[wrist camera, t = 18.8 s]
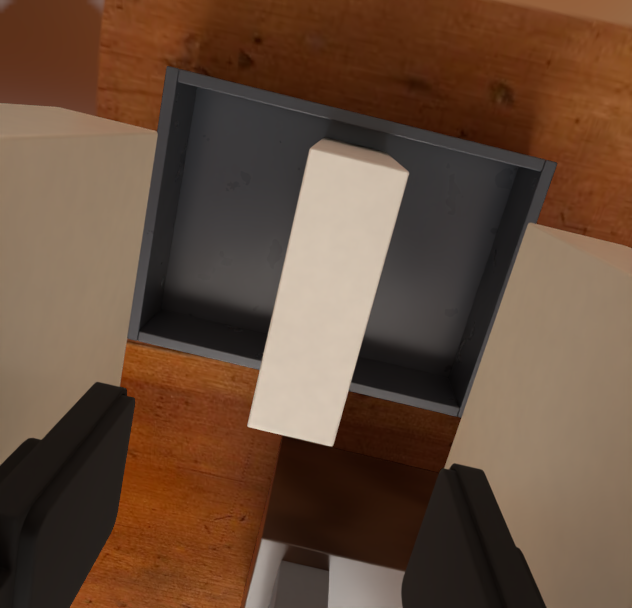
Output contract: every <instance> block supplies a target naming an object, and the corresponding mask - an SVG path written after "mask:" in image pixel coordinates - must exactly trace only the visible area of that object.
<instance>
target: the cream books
mask: <svg viewBox="0 0 632 608" xmlns="http://www.w3.org/2000/svg"><path fill="white" fill-rule="evenodd" d="M157 137H158V133H157V132H156V131H154V130H150V129H146V128H142V127H138V126H133V125H129V124H125V123H121V122H117V121H113V120H109V119H105V118H101V117H97V116H93V115H88V114H84V113H80V112H76V111H72V110H68V109H64V108H60V107H50V106H35V105H20V104H5V103H0V465H1V464H2V463H3V462H4V461H5V460H6V459H7V458H8V457H9V456H10V455H11V454H12V453H13V452H14V451H15V450H16V449H17V448H18V447H19V446H20V445H21V444H22V443H23V442H24V441H25V440H27V439H28V438H36V439H40V440H42V439H43V438H44V437H45V435H46V434H47V433H48V432H49V431H50V430H51V429H52V428H53V427H54V426H55V425H56V424H57V423H58V422H59V421H60V419H61V418H62V417H63V416H64V415H65V414H66V413H67V412H68V411H69V410H70V409H71V408H72V407H73V406H74V405H75V404H76V402H77V401H78V400H79V399H80V398H81V397H82V396H83V395H84V394H85V393H86V392H87V391H88V390H89V389H90V388H91V386H92V385H93V384H94V383H96V382H101V383H105V384H110V385H114V386H119V387H120V381H121V375H122V368H123V362H124V355H125V348H126V342H127V335H128V329H129V322H130V315H131V309H132V302H133V295H134V289H135V282H136V276H137V269H138V262H139V256H140V249H141V242H142V236H143V229H144V223H145V216H146V209H147V203H148V196H149V190H150V183H151V176H152V170H153V163H154V156H155V150H156V143H157ZM454 463H456V464H460V465H465V466H469V467H473V468H478V469H482V470H483V471H484V473H485V475H486V477H487V480H488V482H489V484H490V487H491V489H492V491H493V494H494V496H495V498H496V501H497V503H498V505H499V508H500V510H501V513H502V515H503V517H504V520H505V522H506V524H507V527H508V529H509V531H510V534H511V536H512V538H513V541H514V543H515V545H516V547H518V548H520V550H521V551H522V553H523V554H524V557H525V559H526V561H527V564H528V566H529V568H530V571H531V573H532V575H533V577H534V580H535V582H536V584H537V587H538V589H539V591H540V593H541V596H542V598H543V600H544V603H545V605H546V607H547V608H632V248H629V247H627V246H624V245H620V244H616V243H612V242H608V241H604V240H600V239H596V238H591V237H587V236H583V235H579V234H575V233H571V232H567V231H563V230H559V229H555V228H551V227H547V226H542V225H538V224H534V223H529V224H528V225H527V228H526V231H525V234H524V237H523V240H522V243H521V246H520V249H519V252H518V255H517V258H516V260H515V263H514V266H513V269H512V272H511V275H510V278H509V281H508V284H507V287H506V290H505V292H504V295H503V298H502V301H501V304H500V307H499V310H498V313H497V316H496V319H495V322H494V324H493V327H492V330H491V333H490V336H489V339H488V342H487V345H486V348H485V351H484V354H483V357H482V359H481V362H480V365H479V368H478V371H477V374H476V377H475V380H474V383H473V386H472V389H471V391H470V394H469V397H468V400H467V403H466V406H465V409H464V412H463V415H462V418H461V421H460V424H459V426H458V429H457V432H456V435H455V438H454V441H453V444H452V447H451V450H450V453H449V456H448V458H447V461H446V464H445V467H444V468H445V469H449V468H450V467H451V465H452V464H454Z"/></svg>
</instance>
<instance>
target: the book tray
mask: <svg viewBox="0 0 632 608" xmlns="http://www.w3.org/2000/svg"><path fill="white" fill-rule="evenodd" d="M157 133H158V137H157V143H156V150H155V156H154V163H153V170H152V176H151V183H150V190H149V196H148V203H147V209H146V216H145V223H144V229H143V236H142V242H141V249H140V256H139V262H138V269H137V276H136V282H135V289H134V295H133V302H132V309H131V315H130V322H129V329H128V335H127V338H128V339H132V340H136V341H137V340H138V341H141V342H145V343H149V344H153V345H157V346H162V347H166V348H170V349H174V350H178V351H183V352H187V353H191V354H195V355H199V356H204V357H208V358H212V359H216V360H220V361H225V362H229V363H233V364H237V365H241V366H246V367H250V368H254V369H258V370H260V367H261V362H262V358H263V353H264V349H265V344H266V340H267V336H268V331H269V327H270V322H271V318H272V313H273V309H274V305H275V300H276V296H277V291H278V287H279V282H280V278H281V273H282V269H283V265H284V260H285V256H286V251H287V247H288V242H289V238H290V233H291V229H292V225H293V220H294V216H295V211H296V207H297V202H298V198H299V193H300V189H301V185H302V180H303V176H304V171H305V167H306V162H307V158H308V153H309V149H310V148H311V147H312V146H314V145H315V144H316V143H318V142H319V141H320V140H321V139H323V138H324V137H328V138H332V139H336V140H340V141H345V142H349V143H353V144H357V145H361V146H365V147H369V148H373V149H377V150H381V151H385V152H386V153H387V154H389V155H390V156H391V157H392V158H393V159H394V160H396V161H397V162H398V163H399V164H400V165H401V166H403V167H404V168H405V169H406V170H407V171H408V172H409V176H408V179H407V183H406V187H405V190H404V194H403V197H402V201H401V205H400V208H399V212H398V215H397V219H396V223H395V226H394V230H393V233H392V237H391V240H390V244H389V248H388V251H387V255H386V258H385V262H384V266H383V269H382V273H381V276H380V280H379V284H378V287H377V291H376V294H375V298H374V301H373V305H372V309H371V312H370V316H369V319H368V323H367V327H366V330H365V334H364V337H363V341H362V345H361V348H360V352H359V355H358V359H357V362H356V366H355V370H354V373H353V377H352V380H351V384H350V388H349V391H351V392H355V393H359V394H363V395H367V396H372V397H376V398H380V399H384V400H388V401H393V402H397V403H401V404H405V405H409V406H414V407H418V408H422V409H426V410H430V411H435V412H439V413H443V414H447V415H451V416H456V417H460V418H462V415H463V412H464V409H465V406H466V403H467V400H468V397H469V394H470V391H471V389H472V386H473V383H474V380H475V377H476V374H477V371H478V368H479V365H480V362H481V359H482V357H483V354H484V351H485V348H486V345H487V342H488V339H489V336H490V333H491V330H492V327H493V324H494V322H495V319H496V316H497V313H498V310H499V307H500V304H501V301H502V298H503V295H504V292H505V290H506V287H507V284H508V281H509V278H510V275H511V272H512V269H513V266H514V263H515V260H516V258H517V255H518V252H519V249H520V246H521V243H522V240H523V237H524V234H525V231H526V228H527V225H528V224H529V223H534V224H536V223H537V220H538V217H539V214H540V211H541V208H542V206H543V203H544V200H545V197H546V194H547V191H548V189H549V186H550V183H551V180H552V177H553V174H554V171H555V169H556V166H557V163H556V162H553V161H549V160H545V159H541V158H537V157H533V156H529V155H525V154H521V153H517V152H513V151H509V150H505V149H501V148H497V147H493V146H489V145H485V144H481V143H477V142H473V141H469V140H465V139H460V138H456V137H452V136H448V135H444V134H440V133H436V132H432V131H428V130H424V129H420V128H416V127H412V126H408V125H404V124H400V123H396V122H392V121H388V120H384V119H380V118H376V117H372V116H368V115H364V114H360V113H356V112H352V111H348V110H344V109H340V108H336V107H331V106H327V105H323V104H319V103H315V102H311V101H307V100H303V99H299V98H295V97H291V96H287V95H283V94H279V93H275V92H271V91H267V90H263V89H259V88H255V87H251V86H247V85H243V84H239V83H235V82H231V81H227V80H223V79H219V78H215V77H211V76H206V75H202V74H198V73H194V72H190V71H186V70H182V69H178V68H174V67H170V66H167V69H166V75H165V82H164V89H163V96H162V103H161V109H160V116H159V123H158V130H157Z"/></svg>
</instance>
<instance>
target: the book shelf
mask: <svg viewBox="0 0 632 608" xmlns="http://www.w3.org/2000/svg"><path fill="white" fill-rule="evenodd" d="M438 474H439V473H437V472H432V471H428V470H424V469H420V468H415V467H411V466H407V465H403V464H399V463H394V462H390V461H386V460H382V459H377V458H373V457H369V456H365V455H360V454H356V453H352V452H348V451H343V450H339V449H335V448H331V447H326V446H322V445H318V444H314V443H310V442H305V441H301V440H297V439H293V438H288V437H284V436H283V437H282V439H281V443H280V447H279V451H278V455H277V459H276V463H275V468H274V472H273V476H272V480H271V484H270V488H269V492H268V496H267V500H266V504H265V508H264V512H263V516H262V520H261V524H260V528H259V532H258V536H257V540H256V544H255V548H254V552H253V557H252V561H251V565H250V569H249V573H248V577H247V581H246V585H245V589H244V593H243V598H242V602H241V607H240V608H269V605H270V601H271V597H272V593H273V590H274V586H275V582H276V578H277V575H278V571H279V567H280V563H281V561H282V560H283V561H287V562H292V563H296V564H300V565H305V566H309V567H313V568H318V569H322V570H326V571H329V595H328V608H403V606H402V598H401V588H402V581H403V577H404V574H405V571H406V568H407V565H408V562H409V559H410V556H411V553H412V550H413V547H414V545H415V542H416V539H417V536H418V533H419V530H420V527H421V524H422V521H423V518H424V515H425V512H426V509H427V506H428V504H429V501H430V498H431V495H432V492H433V489H434V486H435V483H436V480H437V477H438Z"/></svg>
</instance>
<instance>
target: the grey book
mask: <svg viewBox="0 0 632 608" xmlns="http://www.w3.org/2000/svg"><path fill="white" fill-rule="evenodd" d="M328 595H329V571H326V570H322V569H318V568H313V567H309V566H305V565H300V564H296V563H292V562H287V561H283V560H282V561H281V563H280V567H279V571H278V575H277V578H276V582H275V586H274V590H273V593H272V597H271V601H270V605H269V608H328Z"/></svg>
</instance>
